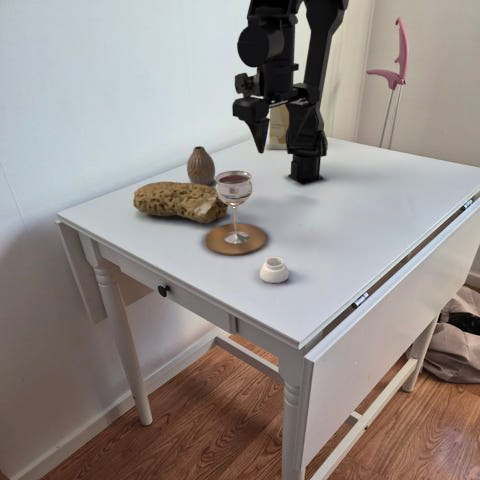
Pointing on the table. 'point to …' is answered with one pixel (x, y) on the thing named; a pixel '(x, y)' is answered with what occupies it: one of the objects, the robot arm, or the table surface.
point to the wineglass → (234, 197)
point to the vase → (200, 167)
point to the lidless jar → (274, 270)
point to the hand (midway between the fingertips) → (276, 147)
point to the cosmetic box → (278, 127)
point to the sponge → (180, 201)
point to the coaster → (221, 246)
